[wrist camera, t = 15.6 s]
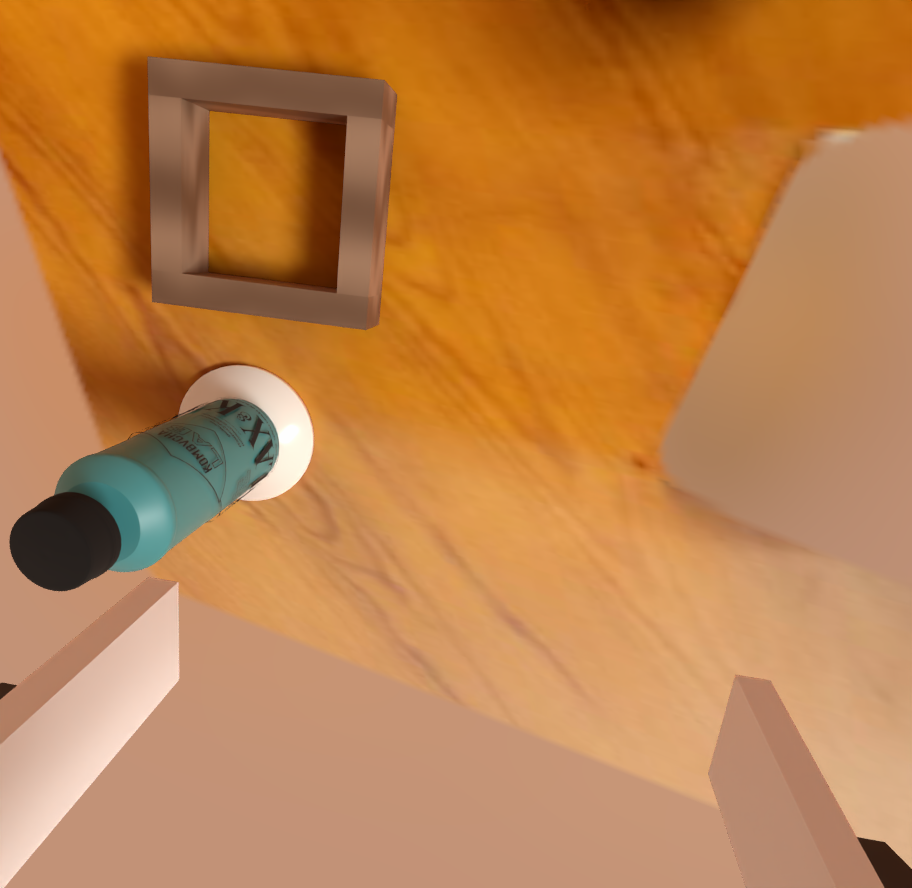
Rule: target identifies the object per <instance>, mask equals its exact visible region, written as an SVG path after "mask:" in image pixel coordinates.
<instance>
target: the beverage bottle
mask: <svg viewBox="0 0 912 888" xmlns="http://www.w3.org/2000/svg"><path fill="white" fill-rule="evenodd" d="M232 398H235V397H232ZM232 398H230V399H229V398H228V399H227V398H225V399H224V398H223V399H222V397H221V400H217V401H214V402H211V403H208V404H207V402H206V403H205V406H204V403H203V404H201V405H203V407H201V406H200V405H199V406H200V408H199V406H196V407H194V408H192V409H190V410H188V411H186V412H184V413H182V414H179V415H176V416H175V417H177V418H175V417H173V418H175V419H173V418H172V419H173V420H170V421H168V422H166V423H163V424H161V425H159V426H158V425H157V426H156V425H155V426H156V427H155V426H154V427H153V426H152V427H153V428H152V429H151V428H150V430H147V431H145V432H140V434H138V435H136V436H134V437H132V438H130V437H129V438H130V439H129V438H128V440H126V441H124V442H122V443H119V444H117V445H115V446H112V447H110V448H108V449H105V450H103V451H101V452H98V453H96V454H92V455H88V456H86V457H83V458H81V459H79V460H78V461H76V462H74V463H73V464H71V465H70V466H69V467H68V468H67V469H66V470H65V471H64V472H63V474H62V475H61V477H60V479H59V481H58V484H57V486H56V490H55V494H54V496H52V497H49V498H48V499H46V500H44V501H42V502H41V503H40V504H39V505H37V506H36V507H35V508H33V509H31V510H30V511H28V512H27V513H25V514H24V515H22V516H21V517H20V518H19V519H18V520H17V522H16V523H15V524H14V526H13V528H12V531H11V535H10V550H11V554H12V557H13V559H14V562H15V563H16V565H17V567H18V568H19V570H20V571H21V572H22V573H23V574H24V575H25V576H26V577H27V578H28V579H29V580H31V581H32V582H33V583H35V584H36V585H38V586H40V587H43V588H45V589H49V590H53V591H67V590H71V589H75V588H77V587H79V586H81V585H82V584H84V583H86V582H88V581H89V580H91V579H94V578H96V577H98V576H100V575H101V574H103V573H104V572H106V571H107V570H112V571H117V572H131V571H138V570H142V569H144V568H147V567H149V566H151V565H153V564H154V563H156V562H157V561H158V560H160V559H161V558H162V557H163V556H164V555H165V554H166V552H168V551H169V550H170V549H171V548H173V547H174V546H175V545H177V544H178V543H179V542H181V541H182V540H183V539H185V538H186V537H187V536H188V535H190V534H191V533H192V532H194V531H195V530H196V529H198V528H199V527H200V526H202V525H203V524H204V523H206V522H208V521H209V520H210V519H212V518H213V517H214V516H216V515H217V514H218V513H219V512H221V511H222V510H223V509H224V508H226V507H227V506H228V505H230V504H232V503H233V501H235V500H237V498H238V497H240V496H241V495H242V494H244V493H246V491H247V490H250V491H251V490H252V489H251V488H253V486H254V488H255V485H256V484H257V483H258V482H260V481H261V480H262V479H264V478H265V477H267V475H268V473H269V472H270V471H271V470H273V469H272V468H274V465H275V463H276V460H277V457H278V456H279V454H278V453H279V437H278V433H277V430H276V428H275V426H274V424H273V422H272V420H271V419H270V418H269V416H268V415H267V414H266V413H265V412H264V411H263V410H262V409H261V408H259V407H258V406H256V405H255V404H253V403H251V402H248V401H246V400H243V399H242V400H240V398H238V399H232ZM195 408H197V409H196V410H195ZM192 410H194V411H192ZM190 411H191V412H190ZM187 412H189V413H187ZM185 413H187V414H185ZM183 414H184V415H183ZM180 415H182V416H180ZM178 416H180V417H178ZM164 421H165V420H164ZM162 422H163V421H162ZM162 422H161V423H162ZM157 424H158V423H157ZM145 429H146V428H145ZM148 429H149V428H148ZM142 430H143V429H142ZM136 433H138V432H136ZM133 434H134V433H133ZM277 461H278V460H277ZM276 464H277V463H276ZM271 472H273V471H271ZM268 477H269V476H268ZM268 477H267V478H268ZM257 485H258V484H257ZM254 488H253V489H254ZM250 491H249V492H250ZM249 492H247V493H246V494H248V493H249ZM246 494H245V495H246ZM245 495H243V496H242V497H244V496H245ZM242 497H241V498H242ZM241 498H238V499H239V500H240V499H241ZM239 500H237V501H239ZM237 501H236V502H237ZM233 505H234V503H233ZM233 505H232V506H233ZM228 507H229V506H228ZM219 515H221V514H220V513H219ZM210 522H211V521H210Z"/></svg>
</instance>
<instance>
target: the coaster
mask: <svg viewBox="0 0 912 888" xmlns="http://www.w3.org/2000/svg"><path fill="white" fill-rule="evenodd" d="M221 397H222V399H223V398H224V399H225V398H227V399H228V398H229V399H230V398H232V397H235V398H232V399H238V398H240V400H242V399H243V400H246V401H248V402H251V403H253V404H255V405H256V406H258V407H259V408H261V409H262V410H263V411H264V412H265V413H266V414H267V415H268V416H269V418H270V419H271V420H272V422H273V424H274V426H275V428H276V430H277V433H278V437H279V453H278V454H279V456H278V457H277V460H278V461H277V460H276V463H277V464H276V463H275V465H274V468H272V469H273V470H271V471H273V472H271V471H270V472H269V473H268V475H267V477H268V476H269V477H268V478H267V477H265V478H264V479H262V480H261V481H260V482H258V483H257V484H258V485H257V484H256V485H255V488H254V486H253V488H254V489H253V488H251V489H252V490H251V491H250V490H247V491H246V493H247V492H249V491H250V492H249V493H248V494H246V493H244V494H242V495H241V496H240V497H238V498H241V497H242V496H243V495H245V494H246V495H245V496H244V497H242V498H241V500H248V501H259V500H265V499H270V498H273V497H276V496H278V495H280V494H282V493H284V492H286V491H287V490H289V489H290V488H291V487H292V486H293V485H294V484H296V483H297V482H298V481H299V479H300V478H301V477H302V476H303V475H304V473H305V471H306V470H307V468H308V466H309V463H310V461H311V458H312V454H313V449H314V430H313V424H312V421H311V417H310V415H309V412H308V410H307V408H306V406H305V404H304V402H303V400H302V399H301V398H300V396H299V395H298V394H297V392H296V391H295V390H294V389H293V388H292V387H291V386H290V385H289V384H288V383H287V382H285V381H284V380H283V379H282V378H280V377H278V376H277V375H275V374H273V373H271V372H269V371H267V370H265V369H262V368H259V367H255V366H250V365H230V366H225V367H221V368H218V369H216V370H213V371H210V372H209V373H207V374H205V375H203V376H202V377H201V378H199V379H198V380H197V381H196V382H195V383H194V384H193V385H192V386H191V387H190V389H189V390H188V391H187V393H186V395H185V397H184V399H183V401H182V403H181V406H180V410H179V414H182V413H184V412H186V411H188V410H190V409H192V408H194V407H196V406H199V405H200V406H201V407H203V405H201V404H203V403H204V406H205V403H206V402H207V404H208V403H211V402H214V401H217V400H221ZM200 406H199V408H200ZM196 409H197V408H195V410H196ZM192 411H194V410H192ZM190 412H191V411H190ZM187 413H189V412H187ZM187 413H185V414H187ZM183 415H184V414H183ZM180 416H182V415H180ZM180 416H178V417H180ZM238 498H237V499H238Z"/></svg>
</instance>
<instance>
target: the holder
mask: <svg viewBox="0 0 912 888" xmlns="http://www.w3.org/2000/svg"><path fill="white" fill-rule="evenodd" d="M396 102H397V94H396V93H395V92H394V91H393V89H392V88H391V87H390V86H389V85H388V84H387V83H386V81H385V80H378V79H368V78H358V77H348V76H337V75H327V74H317V73H307V72H297V71H287V70H277V69H267V68H257V67H247V66H237V65H227V64H217V63H207V62H197V61H187V60H177V59H167V58H157V57H148V105H149V159H150V213H151V267H152V302H157V303H164V304H172V305H179V306H187V307H195V308H202V309H210V310H218V311H225V312H233V313H240V314H248V315H256V316H263V317H271V318H279V319H286V320H294V321H302V322H309V323H317V324H324V325H332V326H340V327H347V328H355V329H363V330H367V329H369V328H372V327H374V326H376V325H378V324H379V316H380V303H381V290H382V278H383V265H384V253H385V240H386V228H387V215H388V202H389V190H390V177H391V165H392V152H393V140H394V127H395V115H396ZM209 111H217V112H227V113H236V114H245V115H255V116H264V117H274V118H283V119H293V120H302V121H312V122H321V123H330V124H340V125H347V131H346V147H345V164H344V180H343V197H342V213H341V230H340V247H339V263H338V280H337V288H329V287H321V286H313V285H305V284H297V283H290V282H282V281H274V280H266V279H258V278H250V277H242V276H234V275H226V274H218V273H210V272H208V238H209Z"/></svg>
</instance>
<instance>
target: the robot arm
mask: <svg viewBox="0 0 912 888" xmlns="http://www.w3.org/2000/svg"><path fill="white" fill-rule="evenodd" d="M178 607H179V603H178V582H175V581H169V580H163V579H157V578H151V577H148V578H146V579H145V580H144V581H143V582H142V583H140V584H139V585H138V586H137V587H136V588H134V589H133V590H132V591H131V592H130V593H128V594H127V595H126V596H125V597H124V598H122V599H121V600H120V601H119V602H117V603H116V604H115V605H114V606H113V607H111V608H110V609H109V610H108V611H107V612H105V613H104V614H103V615H102V616H101V617H99V618H98V619H97V620H96V621H95V622H93V623H92V624H91V625H90V626H89V627H87V628H86V629H85V630H84V631H82V632H81V633H80V634H79V635H78V636H77V637H75V638H74V639H73V640H72V641H70V642H69V643H68V644H67V645H66V646H65V647H63V648H62V649H61V650H60V651H58V652H57V653H56V654H55V655H54V656H52V657H51V658H50V659H49V660H47V661H46V662H45V663H44V664H43V665H41V666H40V667H39V668H38V669H37V670H35V671H34V672H33V673H32V674H31V675H29V676H28V677H27V678H26V679H25V680H23V681H22V682H21V683H20V684H19V685H12V684H7V683H0V888H4V887H5V886H6V885H7V883H8V882H9V881H10V880H11V878H12V877H13V876H14V875H15V874H16V873H17V871H18V870H19V869H20V868H21V867H22V866H23V864H24V863H25V862H26V861H27V860H28V858H29V857H30V856H31V855H32V854H33V852H34V851H35V850H36V849H37V848H38V847H39V845H40V844H41V843H42V842H43V840H44V839H45V838H46V837H47V836H48V835H49V833H50V832H51V831H52V830H53V829H54V828H55V826H56V825H57V824H58V823H59V821H60V820H61V819H62V818H63V817H64V816H65V814H66V813H67V812H68V811H69V810H70V808H71V807H72V806H73V805H74V804H75V803H76V801H77V800H78V799H79V798H80V797H81V795H82V794H83V793H84V792H85V791H86V789H87V788H88V787H89V786H90V784H92V782H93V781H94V780H95V779H96V778H97V776H98V775H99V774H100V773H101V772H102V770H103V769H104V768H105V767H106V766H107V765H108V763H109V762H110V761H111V760H112V759H113V757H114V756H115V755H116V754H117V753H118V751H119V750H120V749H121V748H122V747H123V745H124V744H125V743H126V742H127V741H128V740H129V738H130V737H131V736H132V735H133V734H134V732H135V731H136V730H137V729H138V728H139V727H140V725H141V724H142V723H143V722H144V720H145V719H146V718H147V717H148V716H149V715H150V713H151V712H152V711H153V710H154V709H155V707H156V706H157V705H158V704H159V703H160V702H161V700H162V699H163V698H164V697H165V696H166V694H167V693H168V692H169V691H170V690H171V688H172V687H173V686H174V685H175V684H176V683H177V681H178V680H179V616H178V615H179V608H178ZM708 775H709V778H710V781H711V784H712V787H713V790H714V793H715V796H716V799H717V802H718V805H719V808H720V811H721V814H722V817H723V820H724V823H725V826H726V829H727V833H728V835H729V839H730V842H731V844H732V848H733V851H734V853H735V857H736V860H737V863H738V866H739V869H740V872H741V875H742V878H743V881H744V883H745V887H746V888H912V869H911V868H910V867H909V866H908V865H907V864H906V863H905V862H904V861H903V860H902V859H901V858H900V857H899V856H898V855H897V854H896V853H895V852H894V851H893V850H892V849H891V848H890V847H889V846H888V845H887V844H886V843H885V842H880V841H875V840H870V839H864V838H859V837H856V835H855V833H854V831H853V830H852V828H851V826H850V824H849V822H848V821H847V819H846V817H845V815H844V813H843V811H842V810H841V808H840V806H839V804H838V802H837V801H836V799H835V797H834V795H833V793H832V791H831V790H830V788H829V786H828V784H827V782H826V781H825V779H824V777H823V775H822V773H821V772H820V770H819V768H818V766H817V764H816V762H815V761H814V759H813V757H812V755H811V753H810V752H809V750H808V748H807V746H806V744H805V742H804V741H803V739H802V737H801V735H800V733H799V732H798V730H797V728H796V726H795V724H794V722H793V721H792V719H791V717H790V715H789V713H788V712H787V710H786V708H785V706H784V704H783V702H782V701H781V699H780V697H779V695H778V693H777V692H776V690H775V688H774V686H773V684H772V682H771V681H770V680H764V679H758V678H752V677H746V676H740V675H735V678H734V682H733V686H732V689H731V693H730V696H729V700H728V704H727V707H726V711H725V714H724V718H723V722H722V725H721V729H720V733H719V736H718V740H717V743H716V747H715V751H714V754H713V758H712V762H711V765H710V769H709V772H708Z"/></svg>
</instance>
